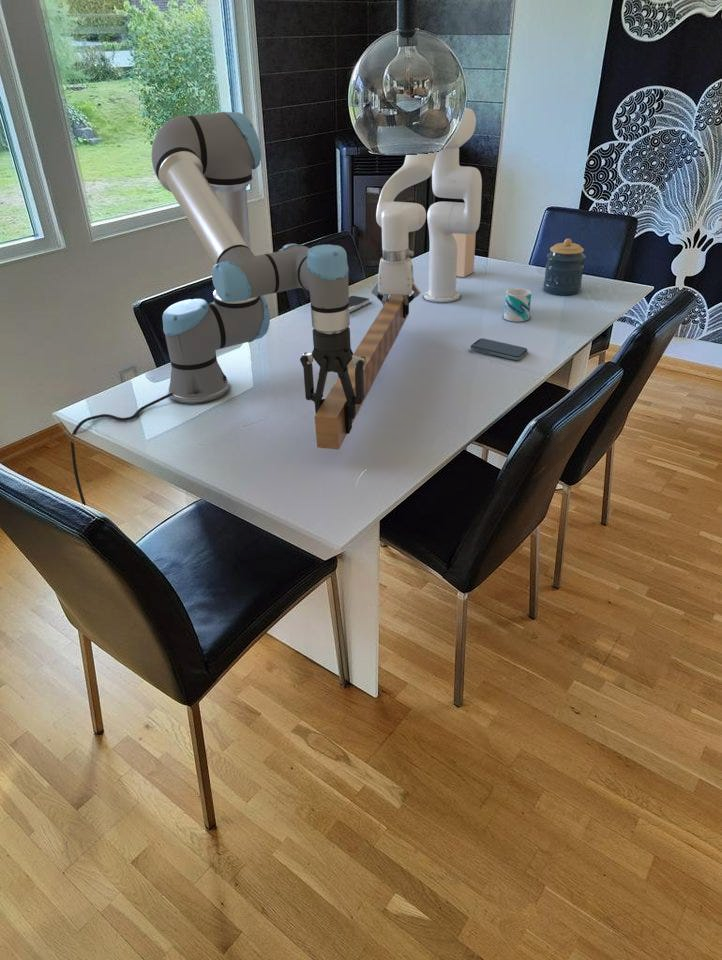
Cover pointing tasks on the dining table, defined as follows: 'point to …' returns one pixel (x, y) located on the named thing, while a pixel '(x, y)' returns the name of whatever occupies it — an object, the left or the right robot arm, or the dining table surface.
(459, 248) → the tan upright wooden block
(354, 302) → the smartphone
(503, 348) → the smartphone
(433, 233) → the right robot arm
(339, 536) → the dining table surface
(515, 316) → the mug
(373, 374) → the post
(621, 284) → the dining table surface
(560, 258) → the canister
